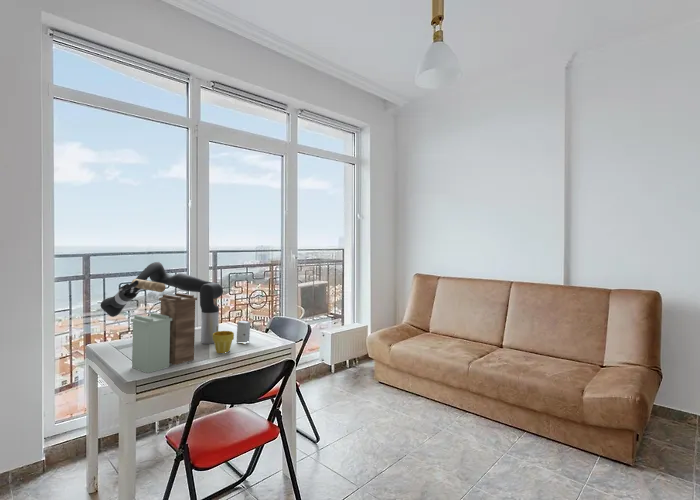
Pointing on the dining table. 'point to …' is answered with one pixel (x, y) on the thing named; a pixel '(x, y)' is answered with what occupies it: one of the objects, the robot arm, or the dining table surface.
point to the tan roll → (150, 285)
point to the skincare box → (243, 331)
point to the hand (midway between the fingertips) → (142, 281)
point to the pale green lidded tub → (151, 342)
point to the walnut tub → (180, 326)
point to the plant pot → (223, 341)
